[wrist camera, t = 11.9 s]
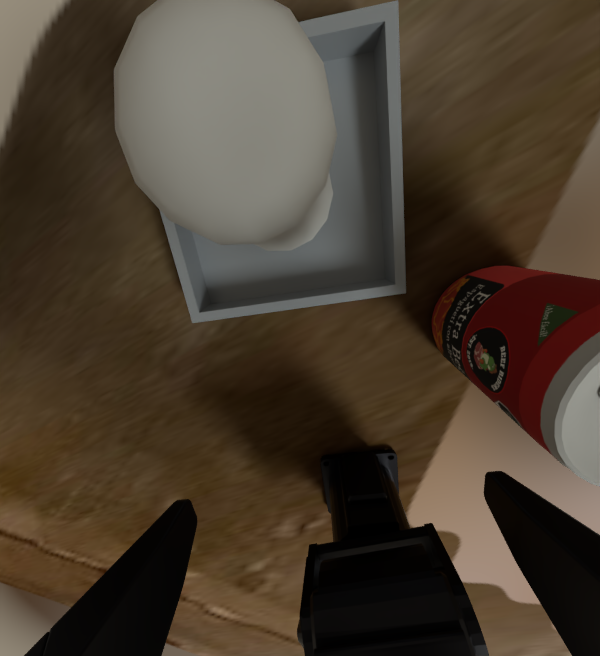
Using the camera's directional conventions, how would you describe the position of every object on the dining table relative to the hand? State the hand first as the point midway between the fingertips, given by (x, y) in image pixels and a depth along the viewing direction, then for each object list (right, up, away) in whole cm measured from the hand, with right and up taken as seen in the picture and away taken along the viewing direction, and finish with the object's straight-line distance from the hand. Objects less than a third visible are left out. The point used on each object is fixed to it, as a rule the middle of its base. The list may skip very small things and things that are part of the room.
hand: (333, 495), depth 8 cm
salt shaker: (-2, +13, +9) cm, 16 cm away
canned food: (+12, +6, +12) cm, 18 cm away
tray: (-2, +13, +9) cm, 16 cm away
